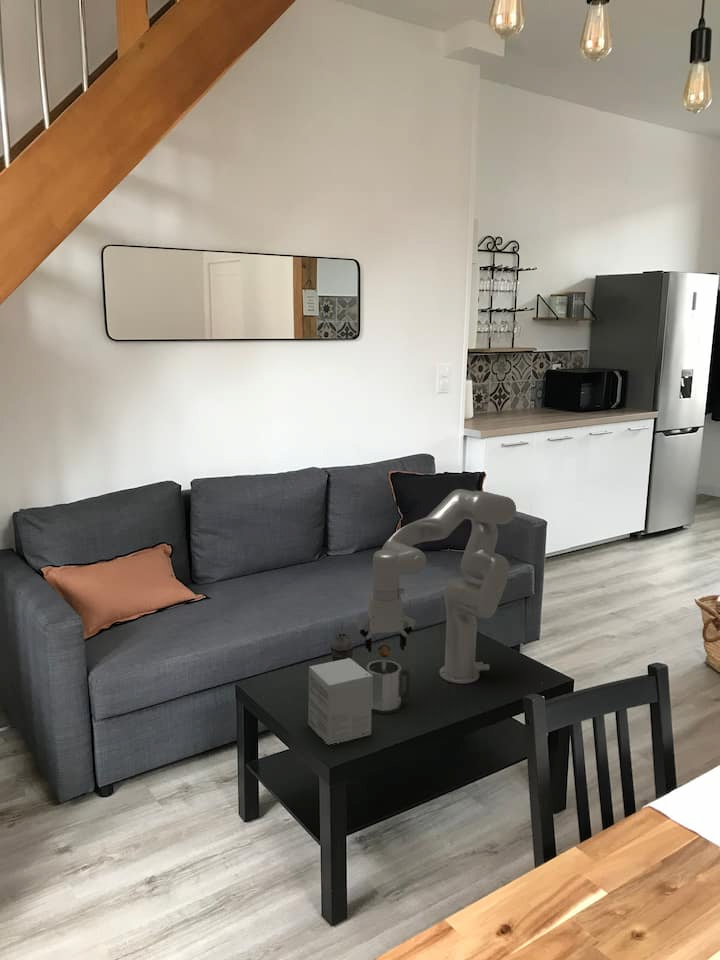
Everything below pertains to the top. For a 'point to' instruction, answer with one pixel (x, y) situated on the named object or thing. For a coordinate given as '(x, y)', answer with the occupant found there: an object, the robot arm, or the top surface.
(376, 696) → the carafe
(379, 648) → the plunger
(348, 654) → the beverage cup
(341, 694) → the supplement box
